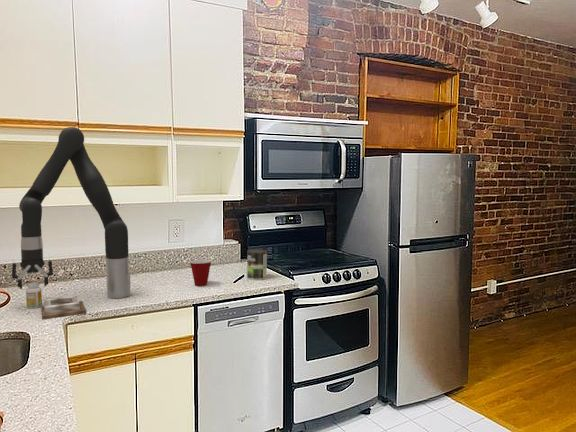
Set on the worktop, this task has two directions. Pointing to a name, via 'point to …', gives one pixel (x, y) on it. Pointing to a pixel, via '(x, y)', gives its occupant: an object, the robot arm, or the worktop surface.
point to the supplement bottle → (33, 295)
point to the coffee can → (256, 264)
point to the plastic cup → (200, 271)
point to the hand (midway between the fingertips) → (33, 287)
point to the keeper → (62, 307)
